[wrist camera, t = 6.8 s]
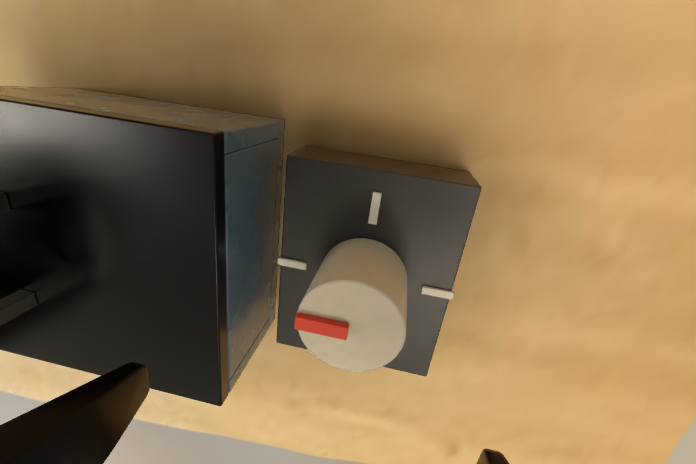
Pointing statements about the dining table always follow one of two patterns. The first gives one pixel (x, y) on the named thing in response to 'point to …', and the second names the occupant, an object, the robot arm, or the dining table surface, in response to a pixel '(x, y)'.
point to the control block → (376, 233)
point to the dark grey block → (240, 200)
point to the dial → (356, 307)
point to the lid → (114, 245)
